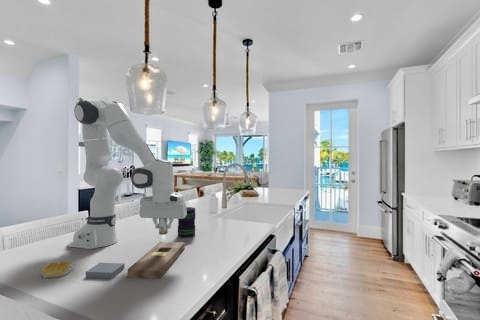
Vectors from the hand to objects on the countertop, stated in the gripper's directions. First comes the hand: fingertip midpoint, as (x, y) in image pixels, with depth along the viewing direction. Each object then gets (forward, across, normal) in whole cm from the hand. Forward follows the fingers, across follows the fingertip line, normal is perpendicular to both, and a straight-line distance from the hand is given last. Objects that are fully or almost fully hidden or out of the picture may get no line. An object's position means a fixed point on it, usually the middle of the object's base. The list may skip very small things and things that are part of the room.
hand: (163, 228), depth 107 cm
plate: (+12, -15, -17) cm, 26 cm away
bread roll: (+13, -33, -19) cm, 40 cm away
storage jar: (+13, 0, +32) cm, 34 cm away
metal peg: (+2, 0, 0) cm, 2 cm away
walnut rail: (+13, 0, -4) cm, 13 cm away
